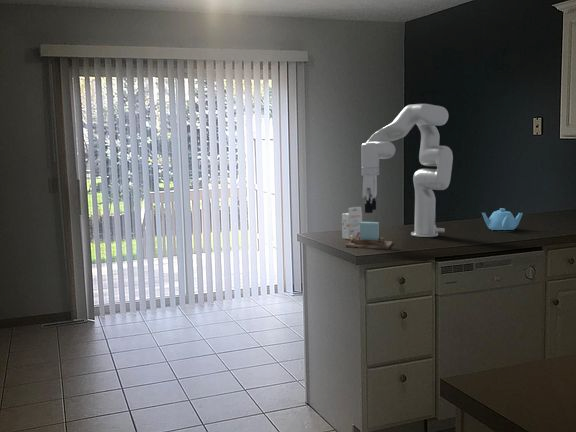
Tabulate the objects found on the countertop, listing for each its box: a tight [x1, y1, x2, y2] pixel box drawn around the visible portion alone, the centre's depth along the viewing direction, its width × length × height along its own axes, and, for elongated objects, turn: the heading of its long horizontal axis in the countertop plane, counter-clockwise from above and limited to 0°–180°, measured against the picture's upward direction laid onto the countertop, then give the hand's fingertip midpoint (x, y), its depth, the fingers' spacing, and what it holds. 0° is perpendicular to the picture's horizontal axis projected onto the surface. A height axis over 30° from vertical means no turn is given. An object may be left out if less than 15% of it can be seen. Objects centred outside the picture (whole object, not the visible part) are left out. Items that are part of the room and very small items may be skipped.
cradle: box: [345, 235, 393, 250], centre depth 276 cm, size 18×14×4 cm
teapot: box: [481, 207, 523, 231], centre depth 319 cm, size 15×15×11 cm
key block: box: [360, 221, 380, 240], centre depth 276 cm, size 4×8×9 cm, turn 74°
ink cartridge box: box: [341, 206, 363, 240], centre depth 296 cm, size 9×5×15 cm, turn 126°
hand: (370, 211), depth 275 cm, fingers open, 9 cm apart
